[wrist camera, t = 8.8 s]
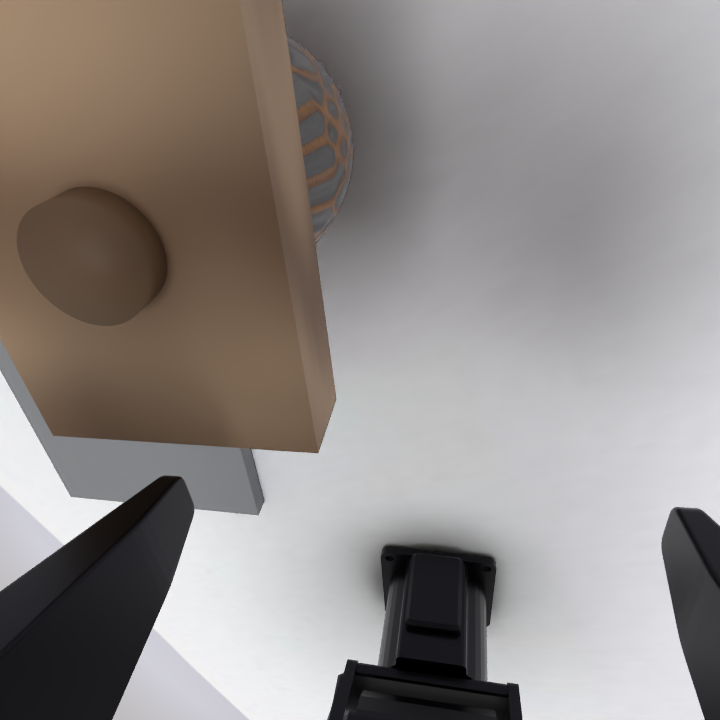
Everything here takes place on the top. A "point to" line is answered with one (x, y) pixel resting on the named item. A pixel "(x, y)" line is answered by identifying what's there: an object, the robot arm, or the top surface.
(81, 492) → the mat
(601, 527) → the top surface
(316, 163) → the vase
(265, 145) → the lid
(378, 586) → the top surface
